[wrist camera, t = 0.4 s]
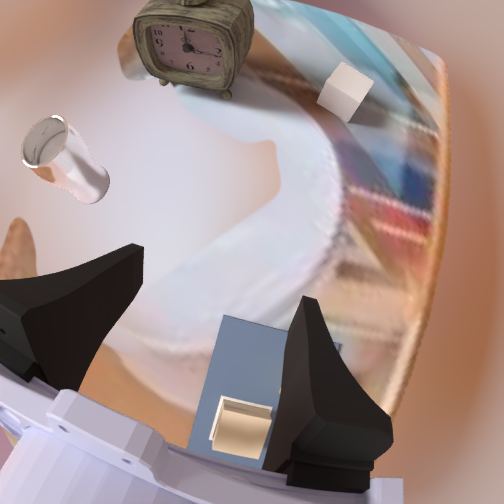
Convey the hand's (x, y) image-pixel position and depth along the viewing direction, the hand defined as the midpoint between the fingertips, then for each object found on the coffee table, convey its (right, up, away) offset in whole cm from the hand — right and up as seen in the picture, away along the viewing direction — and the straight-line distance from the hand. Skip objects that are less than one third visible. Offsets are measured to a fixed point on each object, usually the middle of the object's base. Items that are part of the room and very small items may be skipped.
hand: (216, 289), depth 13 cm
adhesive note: (+16, +26, +34) cm, 46 cm away
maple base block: (0, -21, +24) cm, 32 cm away
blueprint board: (+3, -19, +26) cm, 32 cm away
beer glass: (-22, +11, +28) cm, 38 cm away
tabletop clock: (-7, +30, +32) cm, 44 cm away
